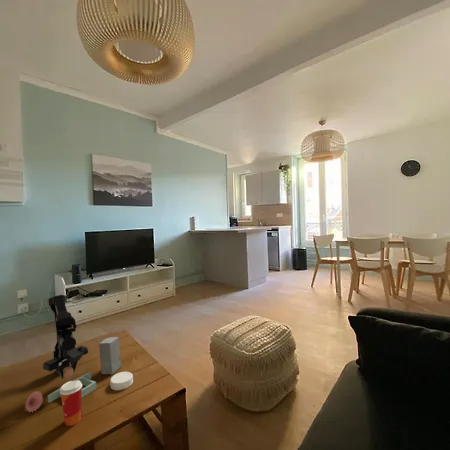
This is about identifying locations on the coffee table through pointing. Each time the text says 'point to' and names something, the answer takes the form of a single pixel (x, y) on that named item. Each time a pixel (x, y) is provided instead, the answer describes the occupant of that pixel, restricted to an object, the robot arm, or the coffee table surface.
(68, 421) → the paper cup
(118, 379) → the coaster
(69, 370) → the ball
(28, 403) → the flower
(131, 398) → the coffee table surface
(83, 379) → the sage green shelf frame
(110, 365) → the skincare box
